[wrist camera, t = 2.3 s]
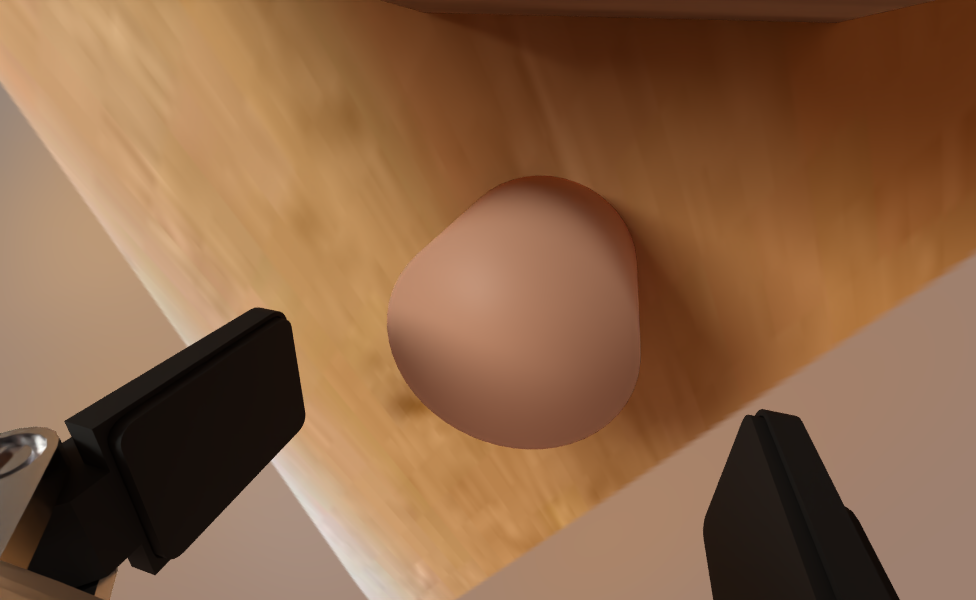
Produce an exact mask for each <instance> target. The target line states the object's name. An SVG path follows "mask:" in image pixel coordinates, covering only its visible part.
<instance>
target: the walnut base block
mask: <svg viewBox="0 0 976 600" xmlns="http://www.w3.org/2000/svg"><path fill="white" fill-rule="evenodd" d="M381 1H385V2H389V3H392V4H396V5H399V6H403V7H407V8H410V9H414V10H418V11H421V12H429V13H468V14H508V15H547V16H586V17H626V18H665V19H705V20H744V21H783V22H823V23H837V22H842V21H846V20H851V19H855V18H860V17H864V16H869V15H873V14H877V13H882V12H886V11H891V10H895V9H900V8H904V7H908V6H913V5H917V4H922V3H926V2H931V1H935V0H381Z"/></svg>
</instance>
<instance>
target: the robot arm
mask: <svg viewBox="0 0 976 600" xmlns="http://www.w3.org/2000/svg"><path fill="white" fill-rule="evenodd" d="M304 421H305V408H304V402H303V395H302V389H301V383H300V377H299V370H298V364H297V358H296V352H295V345H294V339H293V333H292V327H291V323H290V322H289V321H288V320H287V319H286V317H285V315H284V314H283V313H281V312H279V311H274V310H269V309H264V308H253V309H251V310H249V311H247V312H246V313H244V314H242V315H241V316H239V317H237V318H236V319H234V320H232V321H231V322H229V323H227V324H226V325H224V326H222V327H221V328H219V329H217V330H216V331H214V332H212V333H211V334H209V335H207V336H206V337H204V338H202V339H201V340H199V341H197V342H196V343H194V344H192V345H191V346H189V347H187V348H185V349H184V350H182V351H180V352H179V353H177V354H175V355H174V356H172V357H170V358H169V359H167V360H165V361H164V362H162V363H160V364H159V365H157V366H155V367H154V368H152V369H151V370H149V371H147V372H146V373H144V374H142V375H140V376H139V377H137V378H135V379H134V380H132V381H130V382H129V383H127V384H125V385H124V386H122V387H120V388H119V389H117V390H115V391H114V392H112V393H110V394H109V395H107V396H106V397H104V398H102V399H100V400H99V401H97V402H95V403H94V404H92V405H91V406H89V407H87V408H85V409H84V410H82V411H80V412H79V413H77V414H76V415H74V416H72V417H71V418H69V419H67V420H65V424H66V426H67V428H68V430H69V432H70V434H71V436H72V437H71V438H70V439H68V440H66V441H65V442H63V443H62V442H61V440H60V438H59V436H58V435H57V433H56V431H54V430H51V429H49V428H45V427H28V428H19V429H15V430H11V431H7V432H4V433H0V600H110V597H111V593H112V589H113V585H114V582H115V578H116V575H117V571H118V566H119V565H120V564H121V563H122V562H123V561H124V560H125V559H127V558H128V559H129V561H130V564H131V566H132V567H135V568H137V569H140V570H143V571H145V572H148V573H151V574H153V575H156V574H157V573H158V572H159V571H160V570H161V569H162V568H163V567H164V566H165V565H166V564H167V562H168V561H170V559H175V558H177V557H178V556H180V555H181V554H182V553H183V552H184V551H185V550H186V549H187V548H188V547H189V546H190V545H191V544H192V543H193V542H194V541H195V540H196V539H197V538H198V536H200V535H201V533H202V532H203V531H204V530H205V529H206V528H207V527H208V526H209V525H210V524H211V523H212V522H213V521H214V520H215V519H216V518H217V517H218V516H219V515H220V514H221V513H222V511H223V510H224V509H225V508H226V507H227V506H228V505H229V504H230V503H231V502H232V501H233V500H234V499H235V498H236V497H237V496H238V495H239V494H240V493H241V491H242V490H243V489H244V488H245V487H246V486H247V485H248V484H249V483H250V482H251V481H252V480H253V479H254V478H255V477H256V476H257V475H258V474H259V472H261V470H262V469H263V468H264V467H265V466H266V465H267V464H268V463H269V462H270V461H271V460H272V459H273V458H274V457H275V456H276V455H277V454H278V453H279V452H280V450H281V449H282V448H283V447H284V446H285V445H286V444H287V443H288V442H289V441H290V440H291V439H292V438H293V437H294V436H295V435H296V434H297V433H298V432H299V430H300V429H301V428H302V426H303V424H304ZM703 537H704V544H705V550H706V557H707V563H708V569H709V576H710V582H711V588H712V595H713V600H900V599H899V597H898V596H897V594H896V592H895V590H894V588H893V586H892V584H891V582H890V580H889V578H888V576H887V574H886V573H885V571H884V568H883V567H882V565H881V563H880V561H879V559H878V557H877V555H876V553H875V551H874V549H873V547H872V545H871V543H870V542H869V540H868V538H867V536H866V534H865V532H864V530H863V528H862V526H861V524H860V522H859V520H858V519H857V517H856V516H855V514H854V513H853V512H852V511H851V510H849V509H848V508H847V507H845V506H844V504H843V502H842V500H841V499H840V496H839V494H838V492H837V490H836V488H835V486H834V485H833V482H832V480H831V478H830V476H829V474H828V472H827V471H826V468H825V466H824V464H823V462H822V460H821V458H820V456H819V454H818V452H817V450H816V448H815V446H814V444H813V442H812V440H811V438H810V436H809V434H808V432H807V430H806V429H805V426H804V424H803V423H802V421H801V419H800V418H799V417H797V416H794V415H789V414H784V413H779V412H773V411H769V410H764V409H761V410H759V411H758V412H757V413H756V415H755V416H752V415H746V416H745V417H744V419H743V421H742V423H741V426H740V428H739V431H738V434H737V436H736V439H735V442H734V444H733V446H732V449H731V452H730V454H729V457H728V459H727V462H726V465H725V467H724V470H723V472H722V475H721V477H720V480H719V482H718V485H717V488H716V490H715V493H714V495H713V498H712V501H711V503H710V506H709V508H708V511H707V513H706V516H705V519H704V527H703Z"/></svg>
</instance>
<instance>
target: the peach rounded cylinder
mask: <svg viewBox="0 0 976 600" xmlns="http://www.w3.org/2000/svg"><path fill="white" fill-rule="evenodd" d="M387 330H388V337H389V343H390V347H391V350H392V354H393V357H394V359H395V362H396V364H397V367H398V369H399V371H400V372H401V374H402V376H403V378H404V380H405V381H406V383H407V384H408V385H409V387H410V388H411V390H412V391H413V392H414V394H415V395H416V396H417V397H418V398H419V399H420V400H421V401H422V403H423V404H424V405H426V406H427V407H428V408H429V409H430V410H431V411H432V412H433V413H434V414H436V415H437V416H438V417H440V418H441V419H442V420H444V421H445V422H446V423H448V424H450V425H451V426H453V427H454V428H456V429H458V430H460V431H462V432H464V433H466V434H468V435H470V436H472V437H475V438H477V439H480V440H482V441H485V442H489V443H492V444H496V445H499V446H505V447H510V448H519V449H546V448H554V447H559V446H563V445H568V444H571V443H574V442H577V441H579V440H582V439H585V438H586V437H588V436H590V435H592V434H594V433H596V432H598V431H599V430H600V429H602V428H603V427H604V426H606V425H607V424H609V423H610V422H611V421H612V420H613V419H614V418H615V417H616V416H617V415H618V414H619V412H620V411H621V410H622V408H623V407H624V406H625V404H626V403H627V402H628V400H629V398H630V396H631V394H632V392H633V390H634V387H635V384H636V381H637V378H638V375H639V369H640V362H641V344H640V322H639V299H638V277H637V258H636V252H635V247H634V243H633V240H632V237H631V234H630V232H629V230H628V228H627V226H626V224H625V223H624V221H623V220H622V218H621V217H620V215H619V214H618V213H617V211H616V210H615V209H614V208H613V207H612V206H611V205H610V204H609V203H608V202H607V201H606V200H605V199H603V198H602V197H601V196H600V195H598V194H597V193H595V192H594V191H592V190H591V189H589V188H587V187H585V186H583V185H581V184H579V183H576V182H573V181H570V180H567V179H564V178H558V177H552V176H529V177H522V178H518V179H514V180H510V181H508V182H505V183H503V184H500V185H498V186H497V187H495V188H493V189H491V190H490V191H488V192H487V193H486V194H484V195H483V196H482V197H481V198H479V199H478V200H477V201H476V202H475V203H474V204H473V205H472V206H470V207H469V208H468V209H467V210H466V211H465V212H464V213H463V214H461V215H460V216H459V217H458V218H457V219H456V220H455V221H454V222H453V223H451V224H450V225H449V226H448V227H447V228H446V229H445V230H444V231H442V232H441V233H440V234H439V235H438V236H437V237H436V238H435V239H434V240H432V241H431V242H430V243H429V244H428V245H427V246H426V247H425V248H423V249H422V250H421V251H420V252H419V253H418V254H417V255H416V256H415V257H414V258H413V259H412V260H411V261H410V262H409V263H408V264H407V266H406V267H405V268H404V270H403V271H402V273H401V274H400V276H399V278H398V280H397V282H396V284H395V286H394V288H393V291H392V294H391V297H390V301H389V306H388V313H387Z"/></svg>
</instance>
